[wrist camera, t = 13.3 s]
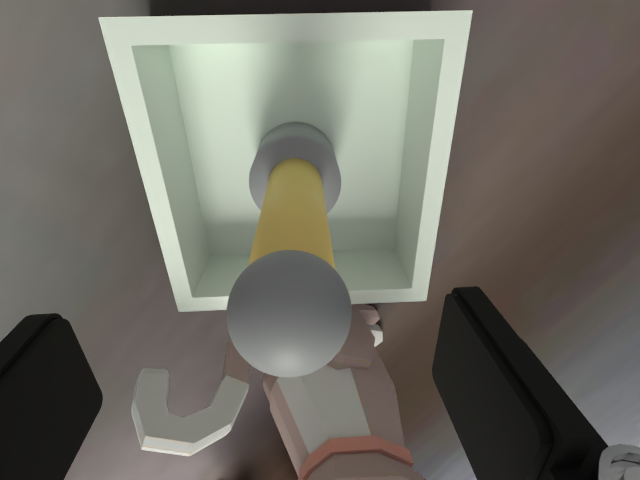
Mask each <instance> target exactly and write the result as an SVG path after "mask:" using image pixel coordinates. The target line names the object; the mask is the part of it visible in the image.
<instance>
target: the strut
mask: <svg viewBox="0 0 640 480" xmlns="http://www.w3.org/2000/svg"><path fill="white" fill-rule="evenodd" d="M249 189H250V193H251V196H252V198H253V200H254V202H255V204H256V205H257V207H258V208H259V209H260V210H261V213H260V217H259V221H258V226H257V230H256V234H255V238H254V242H253V247H252V251H251V255H250V259H249V263H248V267H247V268H246V269H245V270H244V271H243V272H242V273H241V274H240V275H239V277H238V278H237V280H236V282H235V283H234V285H233V287H232V290H231V292H230V295H229V299H228V303H227V312H226V318H227V327H228V331H229V334H230V338H231V340H232V342H233V344H234V346H235V348H236V349H237V351H238V352H239V353H240V355H241V356H242V357H243V358H244V359H245V360H246V361H247V362H248V363H249V364H250V365H252V366H253V367H255V368H256V369H258V370H260V371H262V372H264V373H267V374H269V375H273V376H278V377H298V376H303V375H307V374H310V373H312V372H315V371H317V370H318V369H320V368H322V367H323V366H325V365H326V364H327V363H329V362H330V361H331V360H332V359H333V358H334V357H335V355H336V354H337V353H338V352H339V351H340V349H341V348H342V346H343V344H344V342H345V340H346V338H347V336H348V333H349V329H350V326H351V317H352V308H351V300H350V296H349V292H348V290H347V287H346V285H345V283H344V281H343V280H342V278H341V276H340V275H339V274H338V272H337V271H336V270H335V265H334V259H333V252H332V245H331V238H330V231H329V225H328V218H327V214H328V213H329V212H330V210H331V209H332V208H333V207H334V205H335V204H336V202H337V200H338V197H339V195H340V190H341V175H340V170H339V167H338V163H337V160H336V157H335V153H334V150H333V147H332V145H331V143H330V141H329V139H328V138H327V137H326V135H325V134H324V133H323V132H322V131H320V130H319V129H318V128H316V127H314V126H312V125H310V124H307V123H303V122H287V123H283V124H281V125H278V126H277V127H275V128H273V129H272V130H271V131H269V132H268V133H267V134H266V136H265V137H264V138H263V140H262V142H261V144H260V146H259V149H258V151H257V154H256V156H255V159H254V161H253V164H252V166H251V169H250V173H249Z"/></svg>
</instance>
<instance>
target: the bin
mask: <svg viewBox="0 0 640 480" xmlns="http://www.w3.org/2000/svg"><path fill="white" fill-rule="evenodd" d="M472 12H473V10H466V11H412V12H359V13H305V14H252V15H199V16H145V17H98V18H99V22H100V26H101V29H102V33H103V37H104V40H105V44H106V48H107V51H108V55H109V59H110V62H111V66H112V70H113V73H114V77H115V81H116V84H117V88H118V92H119V95H120V99H121V103H122V106H123V110H124V114H125V117H126V121H127V125H128V128H129V132H130V135H131V139H132V143H133V146H134V150H135V154H136V157H137V161H138V165H139V168H140V172H141V176H142V179H143V183H144V187H145V190H146V194H147V198H148V201H149V205H150V209H151V212H152V216H153V220H154V223H155V227H156V231H157V234H158V238H159V242H160V245H161V249H162V253H163V256H164V260H165V264H166V267H167V271H168V275H169V278H170V282H171V286H172V289H173V293H174V297H175V300H176V304H177V308H178V311H179V312H186V311H209V310H227V303H228V299H229V295H230V292H231V290H232V287H233V285H234V283H235V282H236V280H237V278H238V277H239V275H240V274H241V273H242V272H243V271H244V270H245V269H246V268H247V267H248V263H249V259H250V255H251V251H252V247H253V242H254V238H255V234H256V230H257V226H258V221H259V217H260V213H261V210H260V209H259V208H258V207H257V205H256V204H255V202H254V200H253V198H252V196H251V193H250V189H249V173H250V169H251V166H252V164H253V161H254V159H255V156H256V154H257V151H258V149H259V146H260V144H261V142H262V140H263V138H264V137H265V136H266V134H267V133H268V132H269V131H271V130H272V129H273V128H275V127H277V126H278V125H281V124H283V123H287V122H303V123H307V124H310V125H312V126H314V127H316V128H318V129H319V130H320V131H322V132H323V133H324V134H325V135H326V137H327V138H328V139H329V141H330V143H331V145H332V147H333V150H334V153H335V157H336V160H337V163H338V167H339V170H340V175H341V190H340V195H339V197H338V200H337V202H336V204H335V205H334V207H333V208H332V209H331V210H330V212H329V213H328V214H327V218H328V225H329V231H330V238H331V245H332V252H333V259H334V265H335V270H336V271H337V272H338V274H339V275H340V276H341V278H342V280H343V281H344V283H345V285H346V287H347V290H348V292H349V296H350V300H351V304H367V303H389V302H412V301H426V299H427V293H428V286H429V280H430V274H431V268H432V261H433V255H434V249H435V243H436V236H437V230H438V224H439V218H440V211H441V205H442V199H443V193H444V186H445V180H446V174H447V168H448V162H449V155H450V149H451V143H452V137H453V130H454V124H455V118H456V112H457V105H458V99H459V93H460V87H461V80H462V74H463V68H464V62H465V55H466V49H467V43H468V37H469V30H470V24H471V18H472Z"/></svg>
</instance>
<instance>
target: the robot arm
mask: <svg viewBox="0 0 640 480" xmlns="http://www.w3.org/2000/svg"><path fill="white" fill-rule="evenodd" d="M432 373H433V378H434V382H435V384H436V386H437V389H438V391H439V393H440V396H441V398H442V400H443V402H444V405H445V407H446V409H447V412H448V414H449V416H450V418H451V421H452V423H453V425H454V428H455V430H456V432H457V434H458V437H459V439H460V441H461V444H462V446H463V448H464V450H465V453H466V455H467V457H468V460H469V462H470V464H471V466H472V469H473V471H474V473H475V476H476V478H477V480H640V448H639V447H637V446H633V445H625V444H617V445H612V446H608V445H607V444H606V443H605V441H604V440H603V439H602V438H601V436H600V435H599V434H598V433H597V432H596V430H595V429H594V428H593V427H592V425H591V424H590V423H589V422H588V420H587V419H586V418H585V417H584V415H583V414H582V413H581V412H580V410H579V409H578V408H577V407H576V405H575V404H574V403H573V402H572V400H571V399H570V398H569V397H568V395H567V394H566V393H565V392H564V390H563V389H562V388H561V387H560V385H559V384H558V383H557V382H556V380H555V379H554V378H553V377H552V375H551V374H550V373H549V372H548V370H547V369H546V368H545V367H544V365H543V364H542V363H541V362H540V360H539V359H538V358H537V357H536V355H535V354H534V353H533V352H532V350H531V349H530V348H529V347H528V345H527V344H526V343H525V342H524V341H523V340H522V339H521V338H519V336H518V335H517V334H516V333H515V331H514V330H513V329H512V328H511V326H510V325H509V324H508V323H507V321H506V320H505V319H504V318H503V316H502V315H501V314H500V312H499V311H498V310H497V309H496V307H495V306H494V305H493V304H492V302H491V301H490V300H489V299H488V297H487V296H486V295H485V294H484V292H483V291H482V290H481V289H480V288H479V287H476V286H474V287H459V288H454V289H453V290H452V293H451V294H447V295H446V297H445V302H444V307H443V312H442V318H441V323H440V329H439V334H438V340H437V345H436V350H435V356H434V361H433V367H432ZM102 400H103V397H102V392H101V390H100V388H99V385H98V383H97V381H96V379H95V377H94V375H93V372H92V370H91V368H90V366H89V364H88V362H87V359H86V357H85V355H84V353H83V351H82V349H81V346H80V344H79V342H78V340H77V338H76V335H75V333H74V331H73V329H72V327H71V325H70V323H69V321H68V320H66V319H63V318H62V317H61V316H60V315H59V314H55V313H52V314H36V315H29V316H26V317H25V318H24V319H23V320H22V321H21V322H20V323H19V324H18V325H17V326H16V327H15V328H14V329H13V330H12V331H11V332H10V333H9V334H8V335H7V336H6V337H5V338H4V339H3V340H2V341H1V342H0V480H64V478H65V476H66V474H67V472H68V470H69V468H70V466H71V464H72V462H73V460H74V459H75V457H76V455H77V453H78V451H79V449H80V447H81V445H82V443H83V441H84V439H85V437H86V435H87V433H88V432H89V430H90V428H91V426H92V424H93V422H94V420H95V418H96V416H97V414H98V412H99V410H100V408H101V405H102Z"/></svg>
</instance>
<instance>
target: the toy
mask: <svg viewBox="0 0 640 480" xmlns="http://www.w3.org/2000/svg"><path fill="white" fill-rule="evenodd" d="M351 308H352V317H351V326H350V329H349V333H348V336H347V338H346V340H345V342H344V344H343V346H342V348H341V349H340V351H339V352H338V353H337V354H336V355H335V357H334V358H333V359H332V360H331V361H330V362H329V363H327V364H326V365H325V366H323V367H322V368H320V369H318V370H317V371H315V372H312V373H310V374H307V375H303V376H298V377H278V376H273V375H269V374H267V373H264V379H263V388H264V391H265V393H266V395H267V398H268V400H269V402H270V411H271V414H272V416H273V418H274V421H275V423H276V425H277V428H278V430H279V433H280V435H281V437H282V440H283V442H284V444H285V447H286V449H287V451H288V454H289V456H290V458H291V461H292V463H293V466H294V468H295V470H296V473H297V475H298V480H426V479H425V478H423V477H422V476H421V475H420V474H419V473H417V472H416V471H415V470H414V469H412V468H411V467H412V465H413V464H414V463H413V460H412V457H411V453H410V450H408V449H406V448H405V446H404V440H403V433H402V427H401V421H400V415H399V409H398V402H397V396H396V390H395V386H394V384H393V382H392V380H391V378H390V376H389V374H388V372H387V370H386V368H385V366H384V364H383V362H382V360H381V359H380V357H379V355H378V353H377V351H376V349H375V347H376V346H377V345H378V344H380V343H381V342H382V341H383V338H382V330H381V329H380V327H379V325H376V324H375V323H376V322H377V321H378V320H379V319H380V318H379V315H378V313H377V310H376V309H375V308H374V307H373V306H370V305H366V304H351ZM249 368H250V364H249V363H248V362H247V361H246V360H245V359H244V358H243V357H242V356H241V355H240V353H239V352H238V351H237V349H236V348H235V346H234V344H233V342H232V340H231V341H229V342H228V343H227V350H226V356H225V363H224V369H223V376H222V381H221V383H220V385H219V387H218V389H217V391H216V393H215V395H214V397H213V399H212V401H211V403H210V405H209V406H208V407H207V408H205V409H202V410H200V411H198V412H195V413H193V414H190V415H188V416H186V417H183V418H182V417H179V416H175V415H172V414H169V413H168V400H169V389H170V379H169V374H168V372H167V370H166V369H151V368H143V370H142V371H141V373H140V374H139V376H138V378H137V380H136V384H135V390H134V395H133V401H132V406H131V409H132V417H133V420H134V424H135V428H136V431H137V435H138V438H139V442H140V446H141V449H142V450H148V451H155V452H162V453H169V454H176V455H183V456H191V455H193V454H194V453H196V452H198V451H200V450H201V449H203V448H205V447H207V446H208V445H210V444H212V443H214V442H215V441H217V440H219V439H221V438H222V437H224V436H226V435H227V434H228V433H229V432H230V431H231V429H232V426H233V424H234V422H235V420H236V418H237V415H238V413H239V411H240V409H241V407H242V404H243V402H244V400H245V398H246V395H247V393H248V391H249Z"/></svg>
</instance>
